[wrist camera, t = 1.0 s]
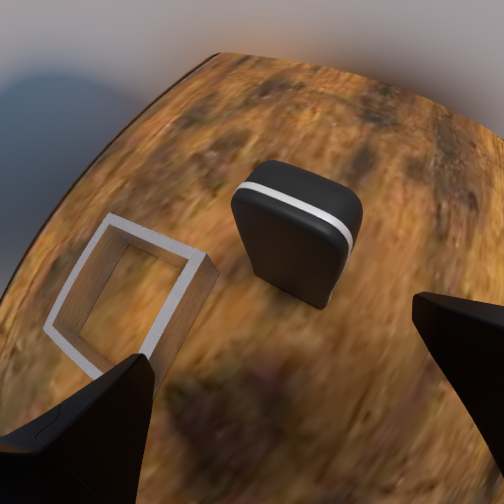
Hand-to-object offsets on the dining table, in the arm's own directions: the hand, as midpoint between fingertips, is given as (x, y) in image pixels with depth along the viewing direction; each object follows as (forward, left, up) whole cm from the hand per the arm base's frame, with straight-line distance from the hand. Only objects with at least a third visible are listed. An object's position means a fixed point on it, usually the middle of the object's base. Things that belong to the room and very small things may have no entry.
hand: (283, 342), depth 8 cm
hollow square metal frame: (+14, +2, -13) cm, 20 cm away
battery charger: (+2, -7, -14) cm, 16 cm away
